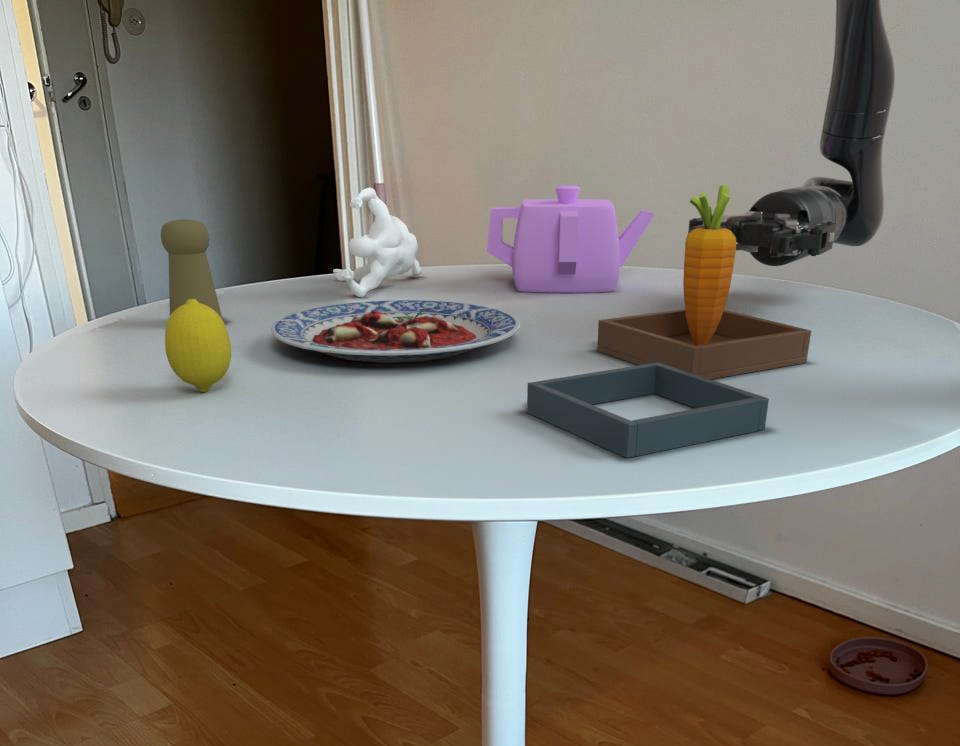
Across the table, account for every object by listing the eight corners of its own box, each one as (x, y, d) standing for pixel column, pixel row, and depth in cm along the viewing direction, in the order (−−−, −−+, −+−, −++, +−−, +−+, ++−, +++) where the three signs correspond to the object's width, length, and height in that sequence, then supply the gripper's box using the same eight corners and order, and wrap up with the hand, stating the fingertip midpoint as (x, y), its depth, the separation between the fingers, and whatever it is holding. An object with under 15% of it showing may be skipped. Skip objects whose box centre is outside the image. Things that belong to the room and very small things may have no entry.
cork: (185, 330, 112) (170, 225, 107) (160, 322, 116) (144, 220, 111) (233, 323, 116) (221, 220, 110) (207, 315, 120) (194, 215, 114)
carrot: (688, 357, 98) (704, 188, 90) (666, 346, 102) (680, 184, 94) (734, 354, 99) (753, 187, 91) (710, 343, 103) (727, 183, 96)
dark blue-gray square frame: (655, 390, 89) (658, 362, 88) (765, 429, 79) (769, 398, 78) (526, 412, 83) (527, 382, 82) (626, 458, 73) (629, 424, 72)
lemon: (220, 380, 93) (209, 290, 89) (246, 393, 89) (235, 300, 85) (162, 390, 90) (148, 297, 86) (186, 404, 86) (172, 307, 82)
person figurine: (339, 194, 138) (353, 179, 121) (429, 214, 141) (455, 201, 125) (326, 293, 141) (338, 291, 125) (415, 310, 145) (438, 310, 128)
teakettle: (476, 285, 137) (476, 186, 131) (560, 270, 147) (563, 178, 141) (570, 301, 126) (574, 194, 120) (653, 285, 137) (661, 185, 131)
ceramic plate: (453, 387, 91) (452, 353, 89) (221, 359, 100) (217, 329, 99) (556, 331, 111) (556, 303, 110) (355, 312, 121) (353, 286, 119)
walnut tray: (706, 335, 109) (709, 305, 108) (806, 362, 98) (811, 330, 96) (596, 351, 103) (598, 319, 101) (691, 382, 92) (694, 348, 90)
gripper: (733, 185, 113) (671, 197, 101) (861, 191, 106) (810, 205, 94) (725, 256, 117) (664, 275, 105) (849, 266, 109) (798, 288, 98)
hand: (733, 242), depth 100 cm, fingers open, 8 cm apart
